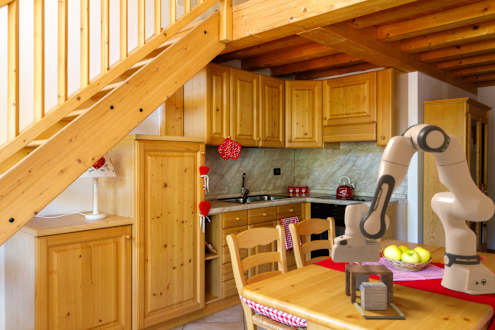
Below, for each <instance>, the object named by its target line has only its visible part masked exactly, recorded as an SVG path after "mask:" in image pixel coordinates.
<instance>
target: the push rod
mask: <svg viewBox="0 0 495 330" xmlns="http://www.w3.org/2000/svg"><path fill="white" fill-rule="evenodd" d="M361 282H370V275H356V290H359V291H360V292H361Z"/></svg>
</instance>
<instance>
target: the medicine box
mask: <svg viewBox="0 0 495 330" xmlns="http://www.w3.org/2000/svg"><path fill="white" fill-rule="evenodd" d="M387 303H388V302H387V286H386V285H385V284H384V283H383V282H380V281H379V282H376V281H373V282H372V281H369V282H361V291H360V305H361V307H362V309H363V310H364V311H388V310H387V309H388V308H387V307H388V304H387Z"/></svg>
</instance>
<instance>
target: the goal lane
mask: <svg viewBox="0 0 495 330" xmlns="http://www.w3.org/2000/svg"><path fill="white" fill-rule="evenodd" d="M353 305H354V307H355V309H356V310H357V311H358V313H359V314H360V316H361V317H362V318H364V316H366V314H365V313H364V311H363V310H362V308H361V307H360V305H359V304H358V303H357V302H356V303H353ZM389 306H390V307H392V309H393V310H394V311H395V312H396V313H397V314H398V316H404V318H406V317H405V314H404V313H403V312H402V311H401V310H400V309H399V308H398V307H397V305H395V304H394V302H393V303H390V304H389Z"/></svg>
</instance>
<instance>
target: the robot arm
mask: <svg viewBox="0 0 495 330" xmlns="http://www.w3.org/2000/svg"><path fill="white" fill-rule="evenodd" d="M417 152H422V153H424V152H425V153H431V154H432V155H433V157H434V161H435V165H436V171H437V175H438V179H439V181H440V183H441V184H442V185H443V186H444V187H446V188H447V189H448V190H450V191H442V192H436V193H435V194H433V196H432V198H431V200H430V207H431V209H432V211H433V212H434V214H435V215H437V216H438V219H439V220H440V222H441V223H442V227H443V230H444V235H445V251H444V253H443V254H444V256H443V262H444V271H443V276H442V280H441V283H440V284H441V286H443V288H447V289H449V290H452V291H455V292H461V293H465V294H469V295H485V294H495V273H494V272H493V271H492V270H490V269H489V268H488V267H487V266H485V265H484V264H483V263H482V262H486V261H487V257H486V256H484V255H479V254H478V253H477V235H476V233H475V232H474V230H472V229H471V228H470V227H469V226H468V225H467V223H466V221H469V222H486V221H489V220H490V219H491V218H492V217H493V216H494V214H495V204H494V201H493V200H492V199H491V197H490V196H487V195H486V194H484V193H483V192H482V191H481V190H480V189H479V187H478V186H477V185H476V183H475V182H474V180H473V178H472V175H471V172H470V169H469V165H468V160H467V156H466V153H465V150H464V147H463V143H462V142H461V140H460V138H459V137H458V135H455V134H450V133H449V134H448V133H447V132H445V130H444V129H442V127H440V126H437V125H436V124H428V123H421V124H418V123H417V124H413V125H411V126H409V127H408V128H406V130H405V131H404V132H403V133H402V134H400V135H395V136H392V137H391V138H390V139H389V140H388V142H387V144H386V146H385V148H384V151H383V154H382V156H381V160H380V162H379V167H378V172H377V174H378V175H377V181H376V186H375V191H374V194H373V197H372V199H371V200H372V201H371V203H370V206H368V205H367V204H366V203H365V202H363V201H356V202H352V203H349V204H348V205H346V207H345V211H344V212H345V213H344V224H345V230H344V234H343V235H340V236H337V237H334V238H333V241H334V242H333V243H334V244H333V245H332V248H331V260H332V261H333V262H334V263H349V264H348V265H355V264H354V263H357V265H363V263H379V262H381V253H380V249H381V243H380V241H378V240H379V239H381V238H383V236H384V235H385V233H386V232H387V230H388V229H389V227H390V224H391V220H390V217H389V215H388V214H387V211H388V208H389V205H390V202H391V199H392V197H393V194H394V192H395V191H396V189H397V188H399V186H400V185H401V184H402V183H403V181H404V179H405V177H407V174H408V171H409V169H410V168H409V167H410V165H411V160H412V158H413V156H414V155H415V154H416V153H417ZM481 261H482V262H481Z"/></svg>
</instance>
